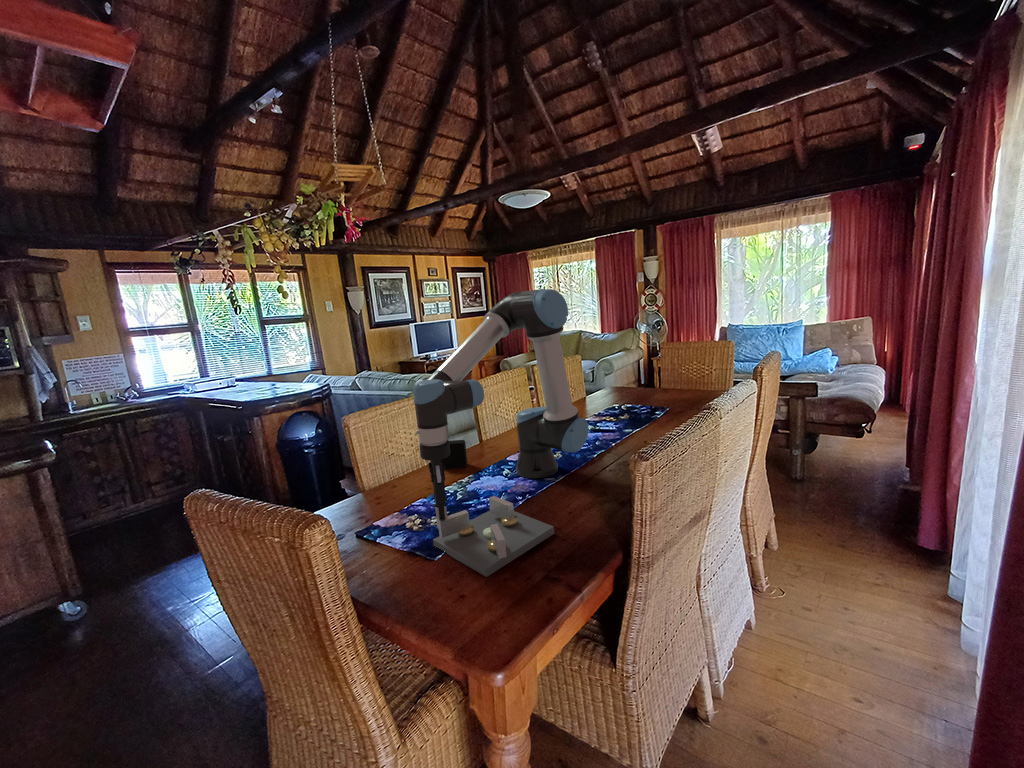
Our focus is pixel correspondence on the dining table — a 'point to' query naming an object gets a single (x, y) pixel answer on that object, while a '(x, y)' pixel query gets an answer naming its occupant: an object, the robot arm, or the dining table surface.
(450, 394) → the robot arm
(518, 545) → the base plate
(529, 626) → the dining table surface
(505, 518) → the knob
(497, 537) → the knob
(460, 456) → the electronic device
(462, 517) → the knob
